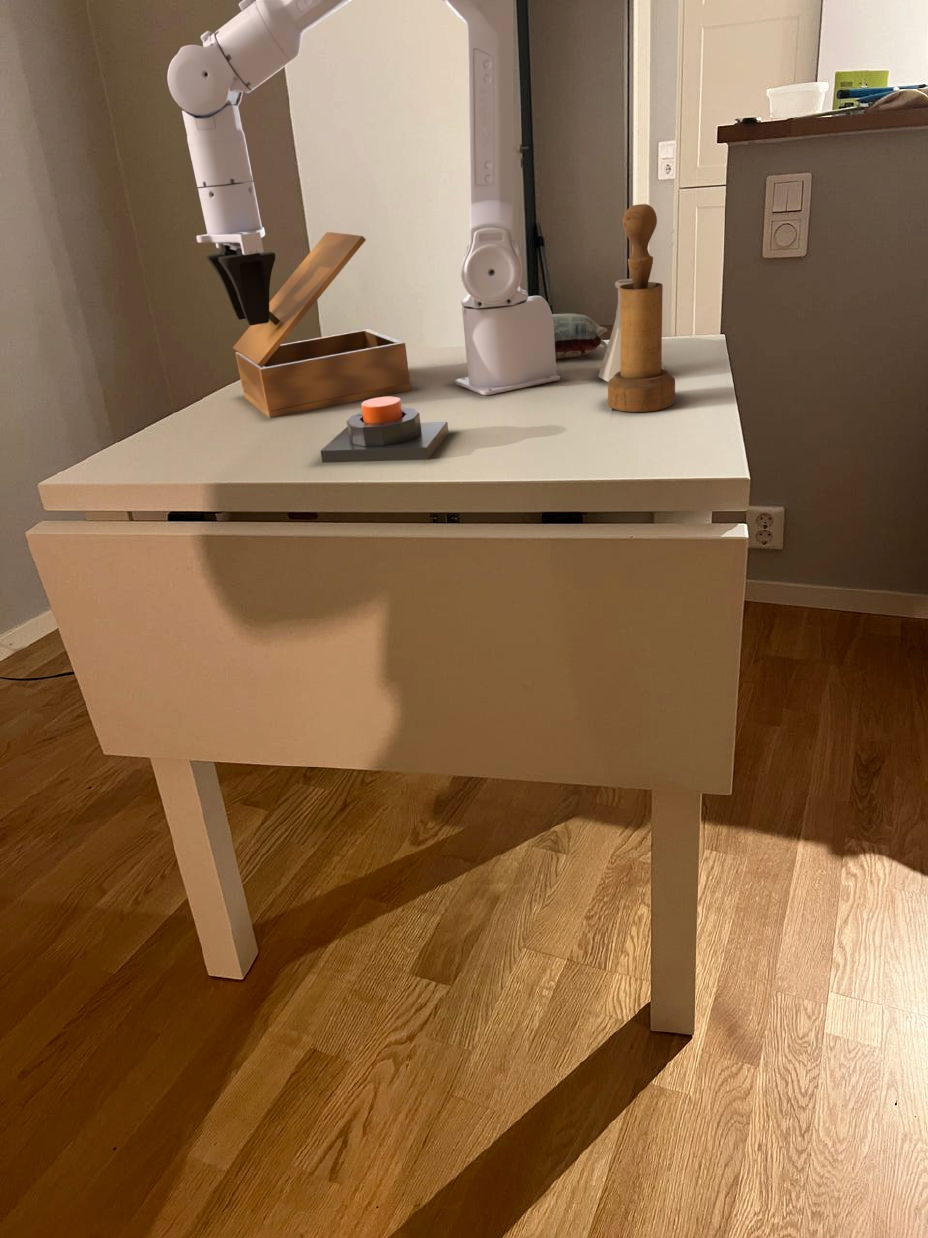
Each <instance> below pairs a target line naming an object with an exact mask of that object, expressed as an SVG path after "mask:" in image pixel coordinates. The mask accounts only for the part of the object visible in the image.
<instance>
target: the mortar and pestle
mask: <svg viewBox="0 0 928 1238" xmlns="http://www.w3.org/2000/svg"><path fill="white" fill-rule="evenodd" d="M657 223H658V217H657V213H656V211H655V209H654V208H653V207H652V206H651V205H650V204H647V203H642V204H634V205H631V206H630V207H628V209H627V210H626V211H625V213H624V215H623V218H622V229H623V230H624V233H625V234H626V237H627V238H628V240H629V242H630V244H631V249H632V250H631V254H630V257H629V258H628V259H627V264H628V270H629V274H630V277H631V279H632V281H633V283H630V284H624V285H621V286H620V338H621V368H620V371H619V372H617V373H616V374H615V375H614V377H613V378H612V379H610V380H609V382H607V404H608V407H609V408H611V409H614V410H615V411H620V412H627V413H628V412H629V413H630V412H631V413H645V412H647V413H649V412H655V411H661V410H663V409H667V408H669V407H672V406H673V405H674V404H675V402H676V378H675V377H674V376H672V375H671V374H670V373H669V372H668V371H667V370H666V369H665V368H664V369H665V370H664V369H662V363H663V361H662V356H663V355H662V354H663V351H662V349H663V348H662V347H663V286H664V285H663V283H661V282H655V281H650V277H651V272H652V269H653V264H654V256H652V255H651V254H650V253H649V244H650V240H651V238H652V237H653V234H654V232H655V231H656V228H657Z"/></svg>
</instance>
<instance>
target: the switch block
mask: <svg viewBox="0 0 928 1238" xmlns="http://www.w3.org/2000/svg"><path fill="white" fill-rule="evenodd" d="M401 408H402V415H403V418H401V419H398V420H395V421H390V422H385V423H364V420H363V414H362V411H361V412H358V413H356V414H353V415H350V417H349V418H348V419H347V420H346V427H345V428H343V430H342V431H340V433H339V434H338V435H336V436H335V437H334V438H333V439H332V440H331V441H330V442H329V443H327V444H326V445H325V446H324V447H323V448H322V449H320V451H319V452H320V458H321V462H322V463H323V464H324V463H356V462H357V463H359V462H360V463H361V462H393V461H394V462H395V461H398V462H399V461H429V459H431V457H432V456H433V454H434V453H435V452H436V451H437V449H438V448H439V446H441V444H442V443H443V441H444V440H445V439H446V438H447V436H448V435H449V434H450V433H449V423H448V421H434V422H432V421H431V422H429V421H428V422H421V417H420V412H419V411H418V410H417V409H416V408H412V407H405V406H401Z"/></svg>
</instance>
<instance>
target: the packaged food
mask: <svg viewBox="0 0 928 1238" xmlns="http://www.w3.org/2000/svg"><path fill="white" fill-rule="evenodd" d="M552 316H553V322H554V338H555V357H556V360H558V359H565V358H573V357H574V358H575V357H582V356H585V355H588V354H589V353H590V352H593V351H595V350H596V349H597V348H598V347H599V346H601V345H602V347H605V348H607V346H608V345H607V343H606V341H604V340H603V338H602V337H601V335H603V333H606V332H608V328H607V327H603V326H600V325H599V324H598V323H597V322H596V321H594V320H593V319H592V318H591V317H589V316H587V315H585V314H577V313H552Z"/></svg>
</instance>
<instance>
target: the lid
mask: <svg viewBox="0 0 928 1238" xmlns="http://www.w3.org/2000/svg"><path fill="white" fill-rule="evenodd" d="M366 241H367V240H366V238H365V236H363V235H361V234H360V235H358V234H351V233H343V232H333V231H326V232H325V233H324V235H323V236H322V237H321V238H320V240H318V242H317V243H316V244H315V245H314V247H313V248H312V249H311V251H310V252H309V253H308V254H307V255H306V257H305V258H304V260H303V261H301V263H300V264H299V265H298V266H297V268H296V269H295V270H294V271H293V272H292V274H291V275H290V276H289V278H288V279H287V280H286V281H285V283H283V285H282V286H281V288H280V289H279V290H278V291H277V293H276V294H275V295H274V296H273V298H272V299H270V300H269V322H268V323H263V324H257V325H251V326H250V325H249V326H248V328H247V329H246V330H245V332H243V334H242V335H241V336H240V338H239V339H238V341H236V343H234V345H233V346H232V349H233V350H234V351H236V352H238V353H240V354H241V355H243V356H244V357H246V358H247V359H249V360H250V361H252V362H253V363H255V364H256V365H258V366H259V367H261V368H262V367H263V366H264V365H265V363H266V362H267V361H268V360H269V358H270V357H271V356H272V355H273V353H274V352H275V351H276V350H277V349H278V347H279V346H280V345H281V344H283V343H284V341H285V340H286V339H287V338H288V337H289V335H290V334H291V333H292V331H293V330H294V329H295V328H296V327H297V325H298V324H299V323H300V322H301V321H302V320H303V318H304V317H305V315H307V313H309V310H311V308H312V307H314V304H316V303H317V301H318V300H319V298H320V297H321V296H322V295H323V293H324V292H325V291H326V290H327V289H328V288H329V286H330V285H331V284H332V283H333V281H334V280H335V279H336V277H337V276H338V275H339V274H340V272H341V271H342V270H343V269H344V268H345V267H346V266H347V264H348V263H349V261H350V260H352V258H353V257H354V256H355V254H356V253H357V252H358V251H359V250H360V249H361V247H362V246H363V245H364V243H365V242H366ZM238 301H239V298H238ZM239 302H240V301H239Z"/></svg>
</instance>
